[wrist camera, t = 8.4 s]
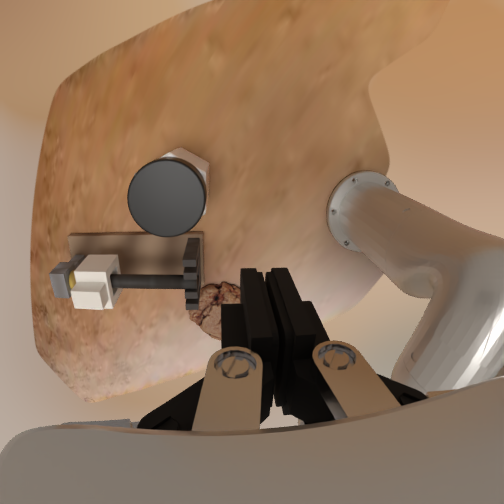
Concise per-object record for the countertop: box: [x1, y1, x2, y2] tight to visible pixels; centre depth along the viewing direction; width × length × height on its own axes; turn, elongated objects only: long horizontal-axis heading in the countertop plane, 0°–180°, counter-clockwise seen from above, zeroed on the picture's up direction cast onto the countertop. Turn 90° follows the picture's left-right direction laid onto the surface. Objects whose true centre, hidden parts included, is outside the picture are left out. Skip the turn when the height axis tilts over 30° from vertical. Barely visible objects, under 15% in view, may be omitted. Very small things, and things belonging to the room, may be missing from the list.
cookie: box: [189, 282, 240, 340], centre depth 48 cm, size 10×11×3 cm
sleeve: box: [71, 255, 123, 310], centre depth 36 cm, size 4×5×8 cm
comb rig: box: [49, 231, 204, 310], centre depth 40 cm, size 21×8×9 cm, turn 88°
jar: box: [127, 147, 209, 237], centre depth 35 cm, size 9×8×12 cm
